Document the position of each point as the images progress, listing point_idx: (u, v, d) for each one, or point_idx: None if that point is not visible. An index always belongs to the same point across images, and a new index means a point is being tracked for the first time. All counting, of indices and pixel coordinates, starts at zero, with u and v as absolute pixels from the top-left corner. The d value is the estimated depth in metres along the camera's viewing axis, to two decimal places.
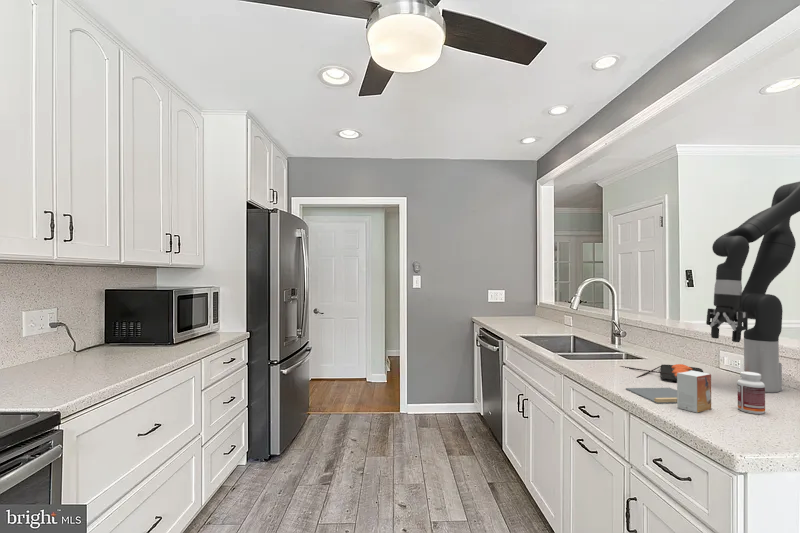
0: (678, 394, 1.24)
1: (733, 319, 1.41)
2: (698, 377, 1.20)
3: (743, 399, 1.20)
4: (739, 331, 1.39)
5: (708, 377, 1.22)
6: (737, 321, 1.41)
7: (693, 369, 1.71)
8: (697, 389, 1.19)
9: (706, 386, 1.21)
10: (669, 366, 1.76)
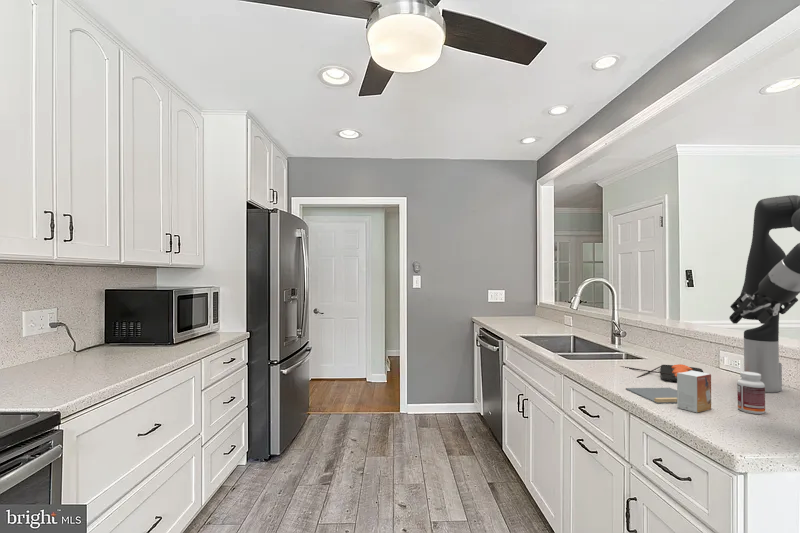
0: (678, 394, 1.24)
1: None
2: (698, 377, 1.20)
3: (743, 399, 1.20)
4: None
5: (708, 377, 1.22)
6: None
7: (693, 369, 1.71)
8: (697, 389, 1.19)
9: (706, 386, 1.21)
10: (669, 366, 1.76)
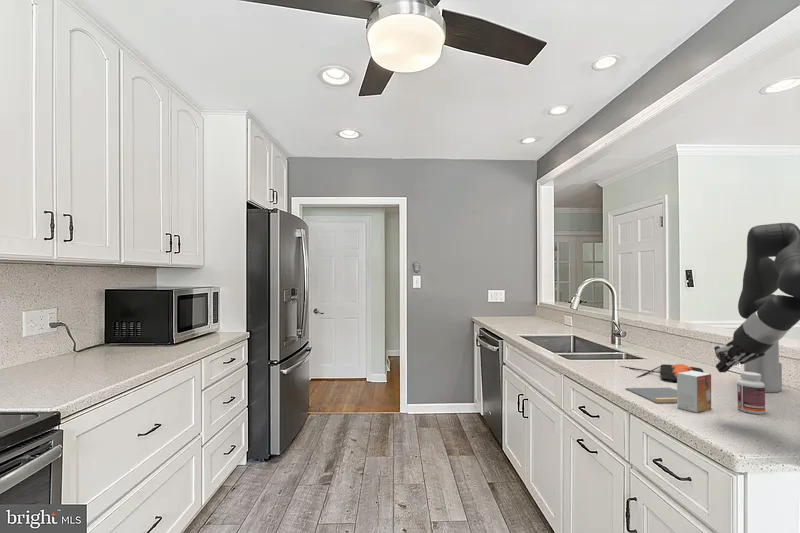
0: (678, 394, 1.24)
1: None
2: (698, 377, 1.20)
3: (743, 399, 1.20)
4: None
5: (708, 377, 1.22)
6: None
7: (693, 369, 1.71)
8: (697, 389, 1.19)
9: (706, 386, 1.21)
10: (669, 366, 1.76)
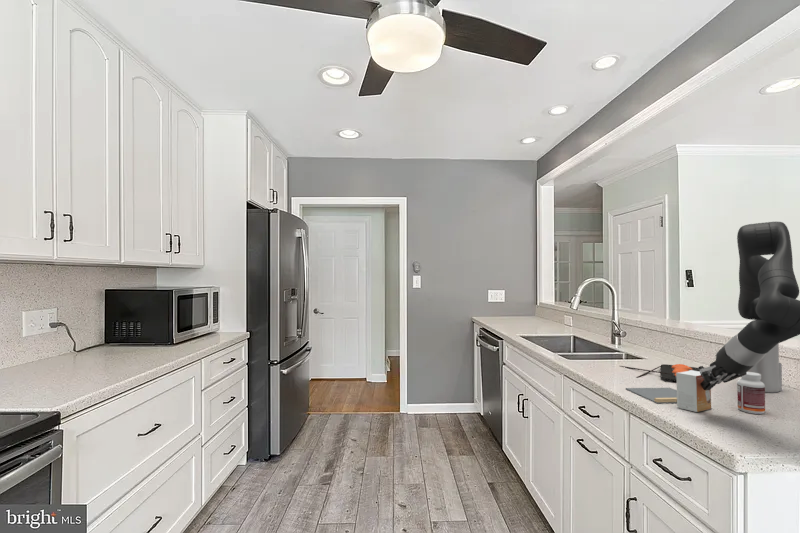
0: (678, 394, 1.24)
1: None
2: (697, 376, 1.20)
3: (743, 399, 1.20)
4: None
5: None
6: None
7: (693, 369, 1.71)
8: (697, 388, 1.19)
9: None
10: (669, 366, 1.76)
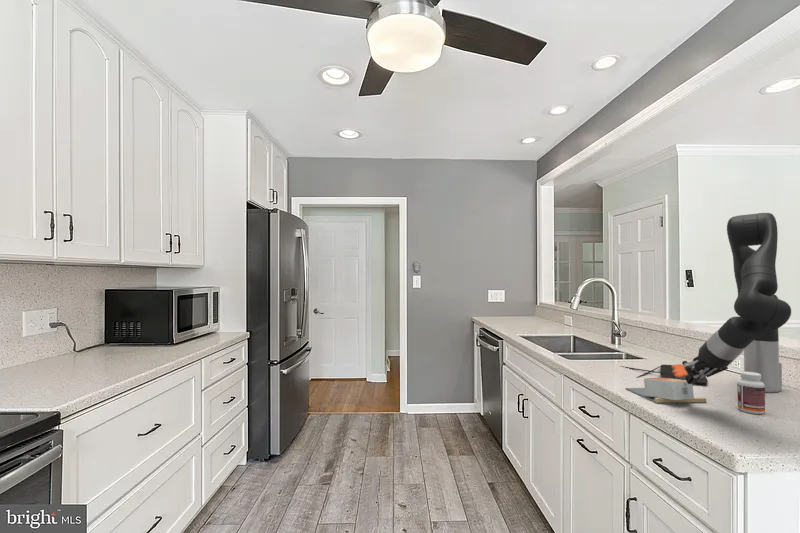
0: (663, 397, 1.27)
1: None
2: (646, 378, 1.34)
3: (743, 399, 1.20)
4: None
5: None
6: None
7: None
8: (654, 379, 1.31)
9: (664, 378, 1.33)
10: (669, 366, 1.76)
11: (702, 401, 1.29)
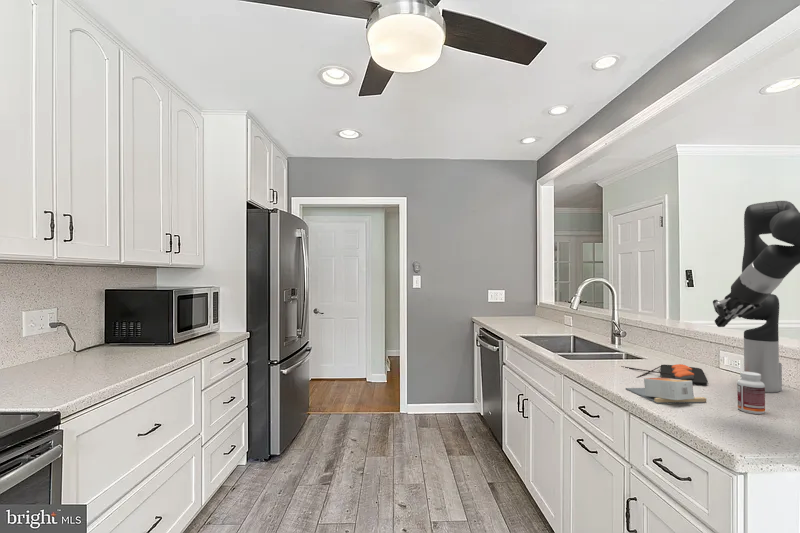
0: (663, 397, 1.27)
1: None
2: (646, 378, 1.34)
3: (743, 399, 1.20)
4: None
5: None
6: None
7: (693, 369, 1.71)
8: (654, 379, 1.31)
9: (664, 378, 1.33)
10: (669, 366, 1.76)
11: (702, 401, 1.29)
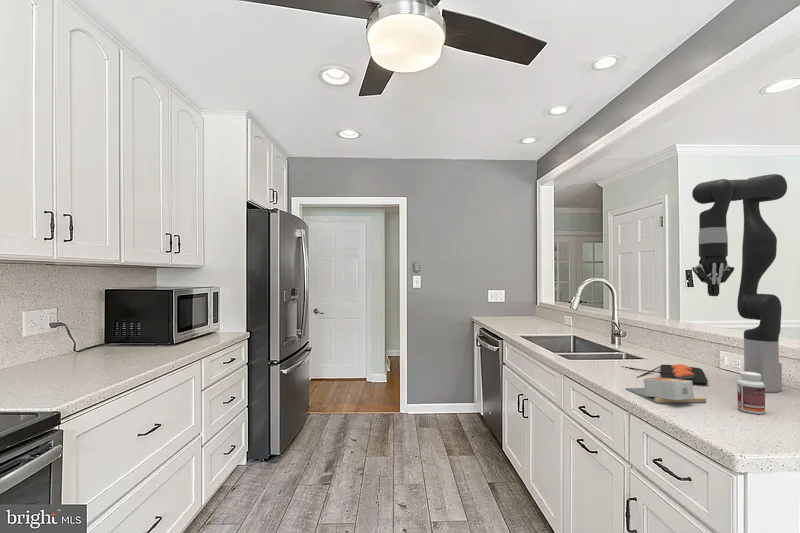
0: (663, 397, 1.27)
1: None
2: (646, 378, 1.34)
3: (743, 399, 1.20)
4: None
5: None
6: None
7: (693, 369, 1.71)
8: (654, 379, 1.31)
9: (664, 378, 1.33)
10: (669, 366, 1.76)
11: (702, 401, 1.29)
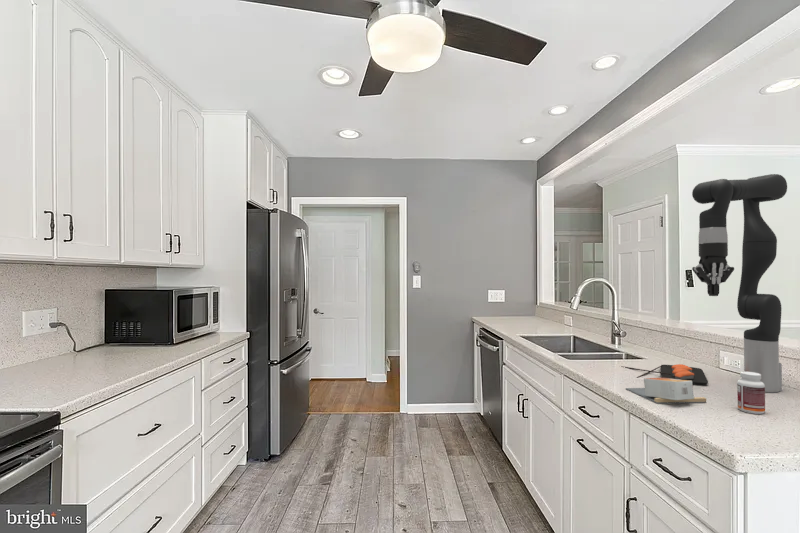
0: (663, 397, 1.27)
1: None
2: (646, 378, 1.34)
3: (743, 399, 1.20)
4: None
5: None
6: None
7: (693, 369, 1.71)
8: (654, 379, 1.31)
9: (664, 378, 1.33)
10: (669, 366, 1.76)
11: (702, 401, 1.29)
